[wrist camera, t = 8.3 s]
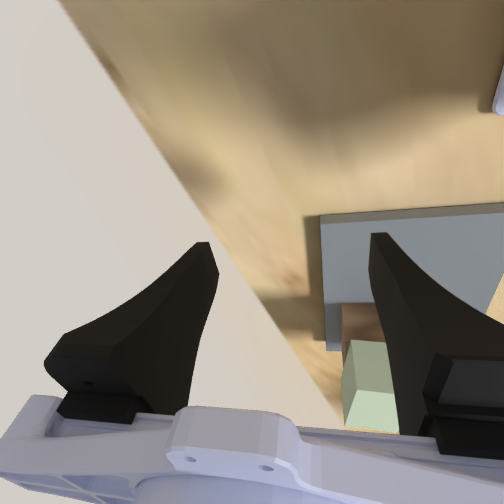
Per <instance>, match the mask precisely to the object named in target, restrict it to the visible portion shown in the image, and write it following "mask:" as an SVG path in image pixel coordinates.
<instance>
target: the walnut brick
mask: <svg viewBox="0 0 504 504" xmlns="http://www.w3.org/2000/svg"><path fill="white" fill-rule="evenodd" d="M351 340H361V341H372V342H383V343H386V342H385V337H384V333H383V330H382V326H381V323H380V319H379V316H378V312H377V309H376V305H375V303H341V346H342V357H343V369H344V365H345V361H346V357H347V353H348V350H349V346H350V342H351Z"/></svg>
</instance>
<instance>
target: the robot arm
mask: <svg viewBox="0 0 504 504" xmlns="http://www.w3.org/2000/svg"><path fill="white" fill-rule="evenodd" d="M492 111H493V112H494V113H496V114H497V115H504V66H503V69H502V73H501V76H500V80H499V83H498V87H497V90H496V94H495V97H494V101H493V104H492ZM368 272H369V279H370V286H371V291H372V295H373V298H374V302H375V305H376V309H377V312H378V316H379V319H380V323H381V326H382V330H383V333H384V337H385V342H386V346H387V352H388V358H389V364H390V370H391V376H392V383H393V389H394V396H395V403H396V410H397V417H398V425H399V432H400V435H395V434H383V433H372V432H360V431H348V430H336V429H324V428H312V427H301V426H295V425H294V423H293V422H292V421H291V420H290V419H288V418H286V417H284V416H282V415H280V414H277V413H272V412H267V411H258V410H245V409H232V408H219V407H206V406H188V400H189V394H190V388H191V382H192V376H193V371H194V366H195V361H196V356H197V351H198V346H199V342H200V338H201V335H202V332H203V329H204V326H205V323H206V320H207V317H208V314H209V311H210V308H211V306H212V303H213V300H214V297H215V293H216V289H217V284H218V278H219V272H218V268H217V266H216V262H215V259H214V256H213V253H212V250H211V247H210V244H209V242H197V243H196V244H194V245H193V247H191V248H190V249H189V250H188V251H187V252H186V253H185V254H184V255H183V256H182V257H181V258H180V259H179V260H178V261H176V262H175V263H174V264H173V265H172V266H171V267H170V268H169V269H168V270H167V271H166V272H165V273H163V274H162V275H161V276H160V277H159V278H158V279H157V280H155V281H154V282H153V283H152V284H151V285H149V286H148V287H147V288H145V289H144V290H143V291H141V292H140V293H139V294H137V295H136V296H134V297H133V298H132V299H130V300H128V301H127V302H125V303H124V304H122V305H120V306H119V307H117V308H116V309H114V310H112V311H110V312H109V313H107V314H105V315H103V316H101V317H99V318H97V319H96V320H94V321H92V322H90V323H88V324H85V325H83V326H81V327H79V328H77V329H74V330H72V331H70V332H68V333H65V334H64V335H63V336H62V337H61V339H60V340H59V341H58V343H57V344H56V345H55V347H54V348H53V349H52V351H51V352H50V353H49V355H48V356H47V357H46V359H45V360H44V367H45V369H46V371H47V372H48V374H49V375H50V376H51V377H52V378H54V379H55V380H56V381H57V382H58V383H59V384H60V385H61V386H63V387H64V388H65V389H66V390H67V391H68V392H67V394H66V396H65V397H64V399H62V398H59V397H55V396H46V395H32V396H31V397H30V398H29V400H28V401H27V403H26V404H25V405H24V407H23V408H22V409H21V411H20V412H19V414H18V415H17V417H16V418H15V419H14V421H13V422H12V424H11V425H10V426H9V428H8V429H7V431H6V432H5V434H4V435H3V436H2V438H1V439H0V477H2V478H4V479H6V480H8V481H10V482H13V483H14V484H17V485H19V486H21V487H23V488H25V489H27V490H32V491H37V492H43V493H49V494H54V495H59V496H64V497H69V498H73V499H77V500H82V501H86V502H91V503H95V504H504V324H502V323H500V322H498V321H496V320H494V319H492V318H491V317H489V316H487V315H485V314H483V313H482V312H480V311H478V310H477V309H475V308H473V307H472V306H470V305H469V304H467V303H465V302H464V301H462V300H461V299H459V298H458V297H456V296H455V295H453V294H452V293H450V292H449V291H448V290H446V289H445V288H444V287H442V286H441V285H440V284H438V283H437V282H436V281H435V280H434V279H432V278H431V277H430V276H429V275H428V274H427V273H426V272H424V271H423V270H422V269H421V268H420V267H419V266H418V265H417V264H416V263H415V262H414V261H413V260H412V259H411V258H410V257H409V256H408V255H407V254H406V253H405V252H404V251H403V250H402V249H401V247H400V246H399V245H398V244H397V243H396V242H395V241H394V239H393V238H392V237H391V236H390V235H389V234H388V233H387V232H378V233H371V239H370V252H369V265H368Z"/></svg>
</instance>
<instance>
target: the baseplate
mask: <svg viewBox="0 0 504 504" xmlns="http://www.w3.org/2000/svg"><path fill="white" fill-rule="evenodd" d="M320 227H321V248H322V270H323V291H324V312H325V334H326V351H342V346H341V303H375V302H374V298H373V295H372V291H371V286H370V279H369V272H368V265H369V252H370V239H371V233H378V232H387V233H388V234H389V235H390V236H391V237H392V238H393V239H394V241H395V242H396V243H397V244H398V245H399V246H400V247H401V249H402V250H403V251H404V252H405V253H406V254H407V255H408V256H409V257H410V258H411V259H412V260H413V261H414V262H415V263H416V264H417V265H418V266H419V267H420V268H421V269H422V270H423V271H424V272H426V273H427V274H428V275H429V276H430V277H431V278H432V279H434V280H435V281H436V282H437V283H438V284H440V285H441V286H442V287H444V288H445V289H446V290H448V291H449V292H450V293H452V294H453V295H455V296H456V297H458V298H459V299H461V300H462V301H464V302H465V303H467V304H469V305H470V306H472V307H473V308H475V309H477V310H478V311H480V312H482V313H483V314H485V313H486V311H487V309H488V306H489V304H490V302H491V300H492V298H493V295H494V293H495V291H496V289H497V286H498V284H499V282H500V280H501V278H502V275H503V273H504V203H492V204H478V205H463V206H449V207H435V208H420V209H406V210H392V211H377V212H363V213H349V214H334V215H320Z"/></svg>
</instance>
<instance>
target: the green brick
mask: <svg viewBox="0 0 504 504" xmlns="http://www.w3.org/2000/svg"><path fill="white" fill-rule="evenodd" d="M341 388H342V400H343V413H344V425H345V426H348V427H355V428H362V429H370V430H377V431H385V432H392V433H398V431H399V425H398V417H397V410H396V403H395V396H394V389H393V383H392V376H391V370H390V364H389V358H388V352H387V346H386V343H383V342H372V341H361V340H351V342H350V346H349V350H348V353H347V357H346V361H345V365H344V369H343V372H342V376H341Z"/></svg>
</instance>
